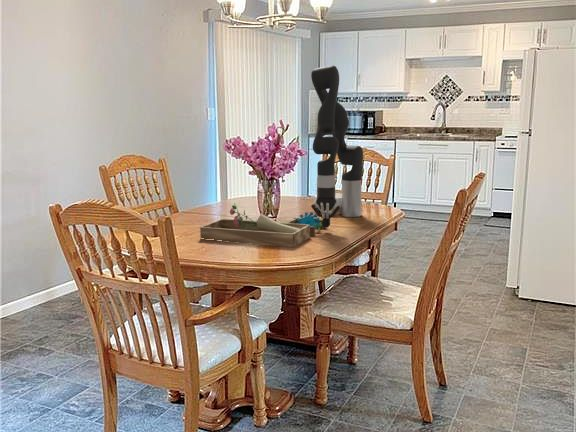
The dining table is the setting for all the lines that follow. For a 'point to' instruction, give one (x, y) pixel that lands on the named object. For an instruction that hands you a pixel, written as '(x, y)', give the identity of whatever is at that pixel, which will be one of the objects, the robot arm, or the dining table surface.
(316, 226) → the gear
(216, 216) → the dining table surface
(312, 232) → the cradle
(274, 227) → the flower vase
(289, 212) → the dining table surface
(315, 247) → the dining table surface
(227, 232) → the wooden tray
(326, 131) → the robot arm
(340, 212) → the bowl
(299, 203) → the dining table surface
